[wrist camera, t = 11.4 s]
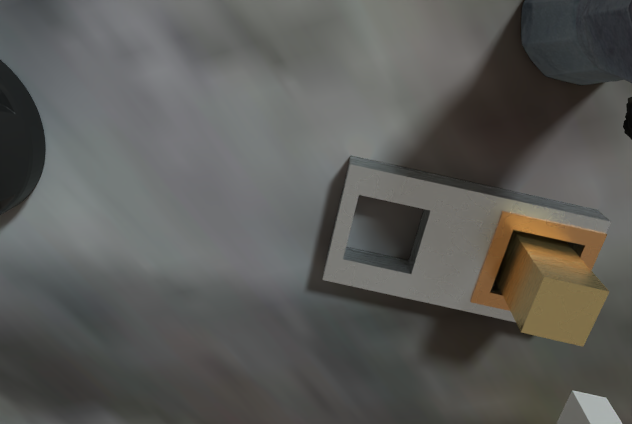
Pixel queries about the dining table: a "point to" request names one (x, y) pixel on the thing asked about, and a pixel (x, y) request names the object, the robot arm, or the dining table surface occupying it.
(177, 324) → the dining table surface
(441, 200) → the grey shape sorter board
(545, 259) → the tan rectangular block
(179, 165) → the dining table surface
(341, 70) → the dining table surface
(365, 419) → the dining table surface
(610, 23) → the moka pot
